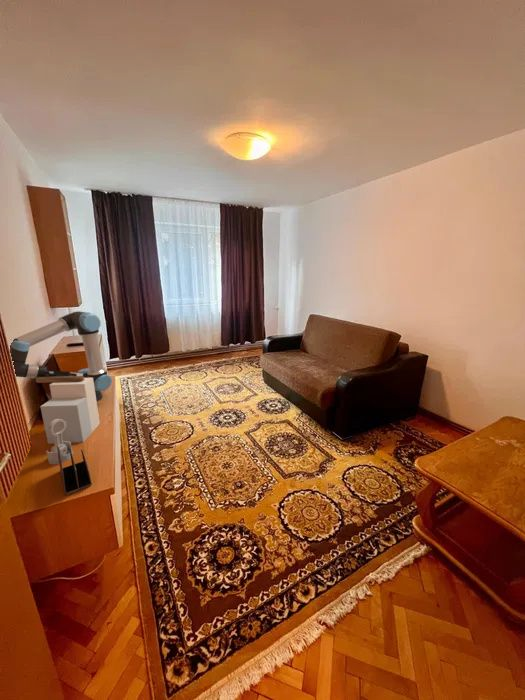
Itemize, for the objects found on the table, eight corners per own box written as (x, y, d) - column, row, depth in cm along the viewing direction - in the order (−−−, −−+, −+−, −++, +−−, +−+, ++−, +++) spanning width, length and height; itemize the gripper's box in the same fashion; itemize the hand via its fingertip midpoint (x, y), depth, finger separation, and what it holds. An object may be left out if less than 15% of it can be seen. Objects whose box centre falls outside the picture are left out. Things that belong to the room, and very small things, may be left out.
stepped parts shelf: (68, 424, 172) (60, 378, 164) (99, 423, 174) (92, 377, 166) (48, 443, 153) (37, 392, 145) (83, 442, 155) (74, 391, 147)
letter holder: (64, 496, 117) (58, 467, 114) (60, 471, 132) (55, 444, 129) (92, 485, 123) (87, 457, 120) (85, 462, 138) (80, 437, 135)
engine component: (43, 462, 137) (60, 465, 136) (35, 425, 132) (53, 427, 130) (62, 449, 148) (79, 452, 146) (55, 414, 142) (72, 416, 141)
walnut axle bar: (39, 380, 160) (38, 376, 159) (84, 379, 162) (83, 376, 162) (36, 382, 157) (35, 378, 156) (81, 381, 160) (81, 377, 159)
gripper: (32, 379, 169) (74, 383, 183) (38, 377, 151) (83, 381, 166) (35, 367, 171) (76, 371, 185) (41, 363, 153) (86, 369, 167)
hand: (79, 376), depth 175 cm, fingers open, 13 cm apart
